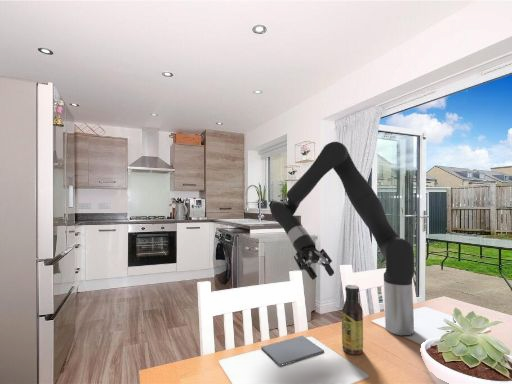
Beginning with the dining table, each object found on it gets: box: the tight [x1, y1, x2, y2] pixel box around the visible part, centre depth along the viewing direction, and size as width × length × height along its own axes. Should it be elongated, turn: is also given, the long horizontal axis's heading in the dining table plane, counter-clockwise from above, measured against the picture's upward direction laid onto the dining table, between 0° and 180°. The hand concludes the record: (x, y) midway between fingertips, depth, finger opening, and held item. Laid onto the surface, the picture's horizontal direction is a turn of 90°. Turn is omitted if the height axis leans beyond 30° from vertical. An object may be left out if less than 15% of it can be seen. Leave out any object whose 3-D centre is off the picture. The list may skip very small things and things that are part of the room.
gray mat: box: [261, 335, 325, 366], centre depth 86 cm, size 16×11×1 cm
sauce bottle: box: [341, 284, 364, 356], centre depth 86 cm, size 6×6×20 cm
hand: (323, 276), depth 96 cm, fingers open, 8 cm apart
